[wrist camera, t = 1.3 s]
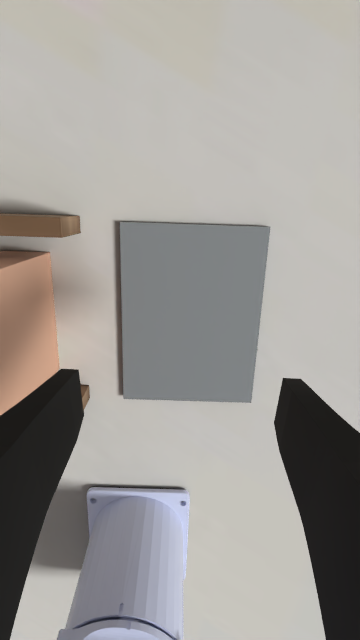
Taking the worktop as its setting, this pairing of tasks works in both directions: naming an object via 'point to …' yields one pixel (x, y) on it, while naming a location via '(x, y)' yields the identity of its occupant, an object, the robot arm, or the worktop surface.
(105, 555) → the robot arm
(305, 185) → the worktop surface
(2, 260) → the tall wooden block
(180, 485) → the worktop surface
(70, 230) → the rack
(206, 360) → the mat
